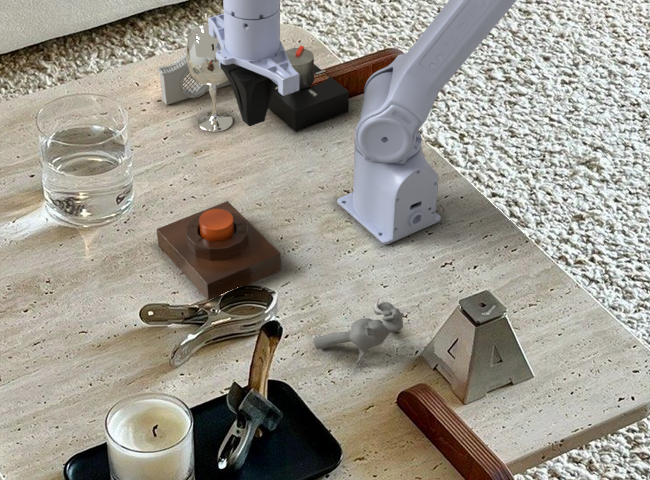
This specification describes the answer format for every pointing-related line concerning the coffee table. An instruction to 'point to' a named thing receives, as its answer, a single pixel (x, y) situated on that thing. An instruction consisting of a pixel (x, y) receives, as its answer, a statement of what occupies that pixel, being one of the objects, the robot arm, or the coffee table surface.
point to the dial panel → (311, 103)
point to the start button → (216, 225)
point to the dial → (302, 65)
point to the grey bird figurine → (366, 330)
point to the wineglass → (207, 75)
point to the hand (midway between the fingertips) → (253, 120)
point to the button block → (219, 254)
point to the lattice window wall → (180, 82)
